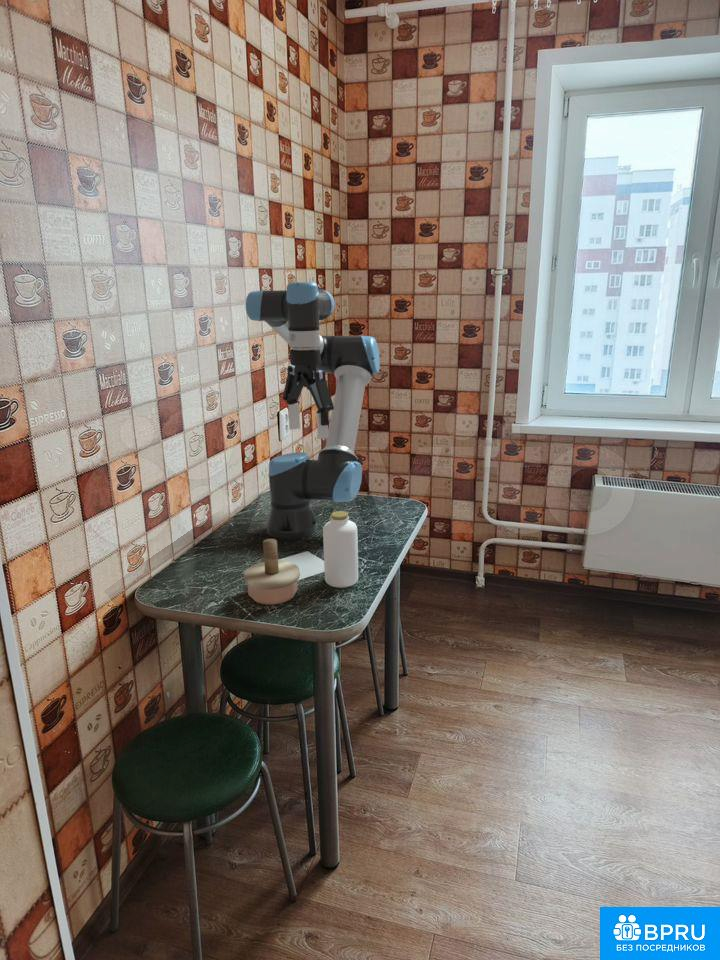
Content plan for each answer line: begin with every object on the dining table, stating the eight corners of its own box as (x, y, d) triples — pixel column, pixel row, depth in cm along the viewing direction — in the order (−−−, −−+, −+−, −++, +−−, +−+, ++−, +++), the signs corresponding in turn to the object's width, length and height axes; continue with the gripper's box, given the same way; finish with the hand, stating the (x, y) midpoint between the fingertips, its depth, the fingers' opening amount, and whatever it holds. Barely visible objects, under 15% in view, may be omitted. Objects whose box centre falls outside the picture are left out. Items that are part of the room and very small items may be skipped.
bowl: (242, 594, 156) (241, 575, 155) (282, 581, 163) (281, 563, 161) (264, 611, 148) (262, 591, 147) (304, 597, 154) (303, 578, 153)
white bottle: (324, 575, 165) (321, 508, 160) (357, 573, 166) (355, 507, 161) (325, 590, 157) (322, 520, 152) (359, 588, 158) (358, 519, 153)
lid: (235, 574, 155) (232, 539, 153) (282, 560, 163) (280, 527, 160) (260, 594, 145) (257, 557, 143) (310, 578, 152) (308, 543, 150)
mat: (262, 565, 172) (262, 564, 172) (307, 552, 180) (307, 551, 180) (289, 584, 161) (288, 582, 161) (336, 569, 169) (335, 567, 169)
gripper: (266, 345, 166) (271, 427, 173) (319, 353, 147) (322, 444, 153) (292, 343, 170) (296, 423, 177) (346, 350, 151) (349, 439, 157)
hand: (308, 433), depth 165 cm, fingers open, 13 cm apart
